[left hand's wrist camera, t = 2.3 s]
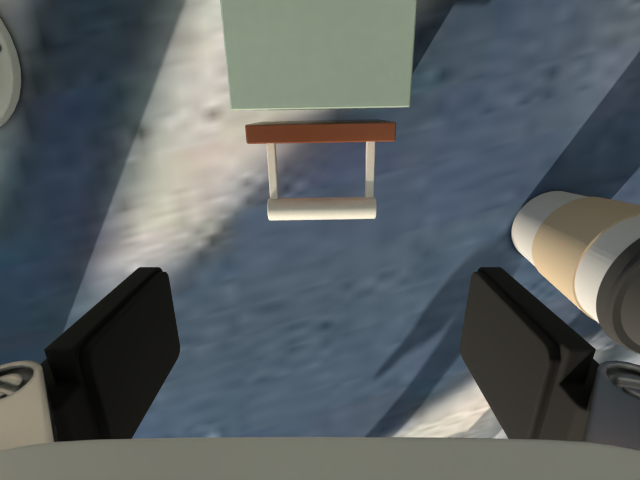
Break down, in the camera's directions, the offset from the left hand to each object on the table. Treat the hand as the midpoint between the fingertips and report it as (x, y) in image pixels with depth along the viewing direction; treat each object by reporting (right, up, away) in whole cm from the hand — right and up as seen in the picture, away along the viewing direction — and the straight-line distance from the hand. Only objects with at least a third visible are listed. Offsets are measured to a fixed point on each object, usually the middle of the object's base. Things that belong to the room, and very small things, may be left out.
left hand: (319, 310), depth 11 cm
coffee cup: (+22, +4, +23) cm, 32 cm away
